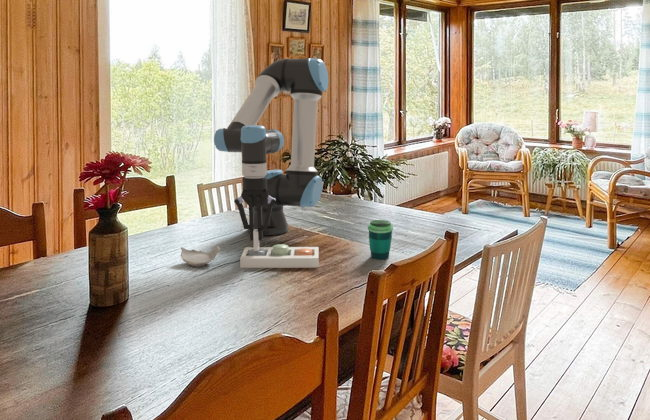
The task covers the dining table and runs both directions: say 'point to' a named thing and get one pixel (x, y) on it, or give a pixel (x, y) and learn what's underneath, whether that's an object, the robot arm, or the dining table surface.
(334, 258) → the dining table surface
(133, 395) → the dining table surface
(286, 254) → the button sage
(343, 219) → the dining table surface
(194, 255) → the pottery shard
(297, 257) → the panel
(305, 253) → the button terracotta
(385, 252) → the cup
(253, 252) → the button slate
